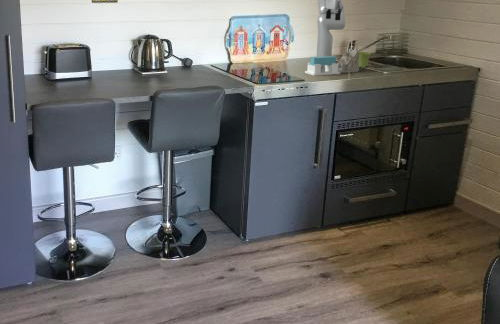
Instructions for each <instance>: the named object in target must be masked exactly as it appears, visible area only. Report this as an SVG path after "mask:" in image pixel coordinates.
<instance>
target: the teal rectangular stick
mask: <svg viewBox="0 0 500 324" xmlns="http://www.w3.org/2000/svg"><path fill="white" fill-rule="evenodd" d="M309 63H310V65H313V66H314V65H316V64H321V65H332V64H334V63H337V56H334V55H332V56H323V57H317V56H311V57H310V62H309Z"/></svg>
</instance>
